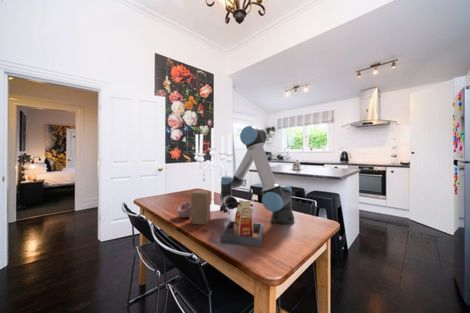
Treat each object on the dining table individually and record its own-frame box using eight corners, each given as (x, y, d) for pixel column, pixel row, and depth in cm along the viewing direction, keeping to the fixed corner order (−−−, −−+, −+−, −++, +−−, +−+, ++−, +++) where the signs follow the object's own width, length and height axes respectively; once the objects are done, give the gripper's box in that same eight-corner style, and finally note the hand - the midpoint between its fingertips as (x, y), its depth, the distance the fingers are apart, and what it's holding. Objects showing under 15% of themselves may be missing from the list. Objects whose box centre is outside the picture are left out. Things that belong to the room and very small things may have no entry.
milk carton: (239, 241, 97) (239, 202, 97) (232, 234, 106) (232, 198, 105) (255, 238, 101) (255, 200, 101) (247, 231, 110) (247, 196, 109)
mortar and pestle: (173, 217, 135) (173, 200, 135) (189, 213, 143) (188, 198, 142) (181, 221, 126) (181, 204, 126) (197, 217, 134) (197, 201, 134)
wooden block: (205, 225, 119) (205, 193, 119) (190, 224, 121) (190, 192, 121) (210, 219, 129) (210, 190, 129) (196, 218, 131) (196, 189, 131)
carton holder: (263, 230, 111) (263, 223, 111) (260, 246, 92) (260, 238, 92) (230, 227, 116) (230, 220, 115) (220, 242, 96) (220, 234, 96)
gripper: (248, 206, 130) (261, 215, 110) (211, 209, 122) (219, 220, 102) (248, 195, 130) (261, 202, 110) (211, 197, 122) (219, 206, 102)
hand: (241, 211), depth 106 cm, fingers open, 13 cm apart
